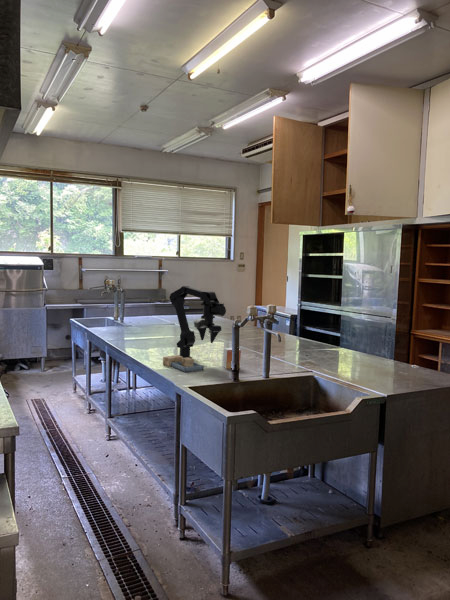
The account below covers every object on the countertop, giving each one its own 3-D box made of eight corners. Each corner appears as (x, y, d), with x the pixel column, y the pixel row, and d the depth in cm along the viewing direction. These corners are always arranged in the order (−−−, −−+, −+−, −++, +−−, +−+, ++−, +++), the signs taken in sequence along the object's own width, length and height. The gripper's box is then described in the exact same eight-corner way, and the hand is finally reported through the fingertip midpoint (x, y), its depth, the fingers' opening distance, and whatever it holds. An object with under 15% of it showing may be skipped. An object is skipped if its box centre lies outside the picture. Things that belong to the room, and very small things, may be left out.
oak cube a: (181, 366, 248) (181, 358, 248) (188, 365, 251) (188, 357, 251) (185, 368, 245) (186, 359, 244) (193, 367, 247) (193, 359, 247)
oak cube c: (162, 365, 252) (163, 356, 252) (168, 363, 256) (169, 355, 255) (168, 366, 249) (169, 358, 249) (174, 365, 253) (175, 357, 252)
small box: (225, 369, 251) (226, 349, 250) (223, 366, 256) (224, 347, 255) (240, 368, 253) (241, 349, 252) (237, 366, 258) (238, 347, 258)
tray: (170, 366, 250) (171, 362, 249) (189, 364, 257) (189, 360, 256) (184, 372, 239) (184, 367, 239) (203, 369, 246) (203, 365, 246)
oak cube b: (171, 363, 256) (171, 355, 256) (178, 363, 259) (178, 355, 258) (174, 365, 252) (175, 357, 252) (182, 364, 255) (182, 356, 255)
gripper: (187, 312, 264) (185, 339, 265) (206, 316, 249) (204, 345, 250) (203, 311, 271) (201, 338, 272) (222, 316, 256) (221, 344, 257)
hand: (206, 341), depth 263 cm, fingers open, 9 cm apart
